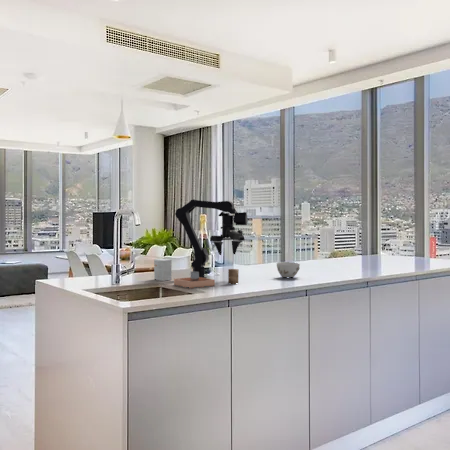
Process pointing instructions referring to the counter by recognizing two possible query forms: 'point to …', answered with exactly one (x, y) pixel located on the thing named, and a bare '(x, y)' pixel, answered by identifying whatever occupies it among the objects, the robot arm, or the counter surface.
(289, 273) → the teacup
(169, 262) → the small box
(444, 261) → the counter surface
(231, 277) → the walnut knob
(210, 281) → the shallow square tray
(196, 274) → the steel peg
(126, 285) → the counter surface
